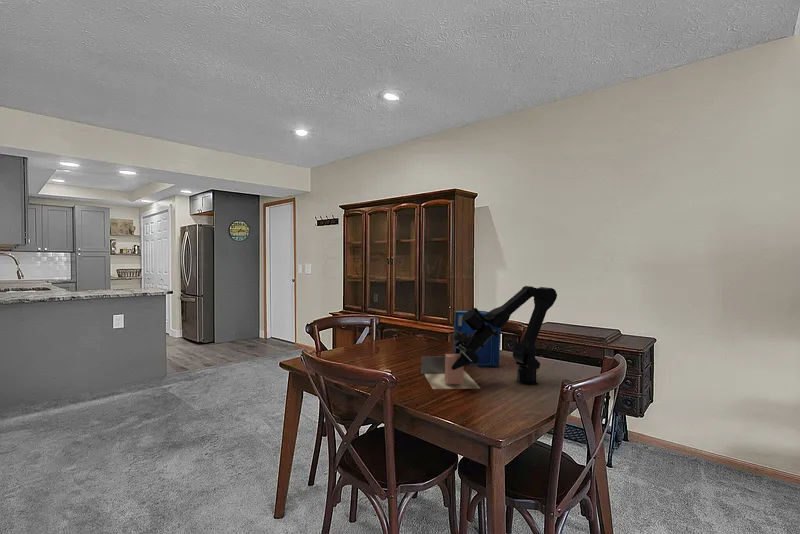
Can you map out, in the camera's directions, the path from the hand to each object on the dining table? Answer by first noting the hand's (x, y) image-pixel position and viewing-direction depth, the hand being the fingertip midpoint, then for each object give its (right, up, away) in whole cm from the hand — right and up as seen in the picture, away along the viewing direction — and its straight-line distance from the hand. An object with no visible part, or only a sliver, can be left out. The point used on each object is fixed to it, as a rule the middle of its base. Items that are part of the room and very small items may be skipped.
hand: (450, 367), depth 161 cm
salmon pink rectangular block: (+1, -6, 0) cm, 6 cm away
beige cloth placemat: (+1, -7, +7) cm, 10 cm away
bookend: (-4, -6, +15) cm, 17 cm away
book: (+16, -7, +34) cm, 38 cm away
